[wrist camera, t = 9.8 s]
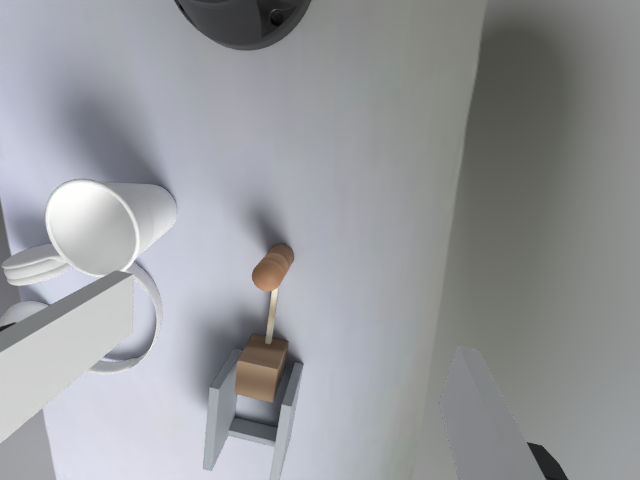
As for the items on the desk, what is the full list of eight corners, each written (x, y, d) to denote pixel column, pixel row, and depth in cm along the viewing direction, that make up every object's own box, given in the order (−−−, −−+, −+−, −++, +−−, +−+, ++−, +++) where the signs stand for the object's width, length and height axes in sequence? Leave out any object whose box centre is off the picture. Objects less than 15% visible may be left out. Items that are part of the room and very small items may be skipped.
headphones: (-22, 360, 46) (133, 400, 48) (-13, 235, 40) (161, 289, 43) (21, 328, 52) (155, 365, 55) (34, 218, 47) (182, 265, 49)
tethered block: (263, 240, 44) (245, 259, 37) (302, 248, 43) (291, 268, 37) (249, 363, 49) (231, 399, 43) (283, 371, 49) (270, 408, 42)
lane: (234, 348, 49) (209, 387, 41) (303, 363, 48) (291, 406, 41) (226, 420, 53) (202, 468, 45) (290, 436, 52) (277, 487, 44)
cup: (202, 239, 45) (152, 270, 34) (134, 250, 46) (67, 283, 36) (179, 161, 42) (117, 169, 32) (108, 176, 44) (28, 189, 34)
